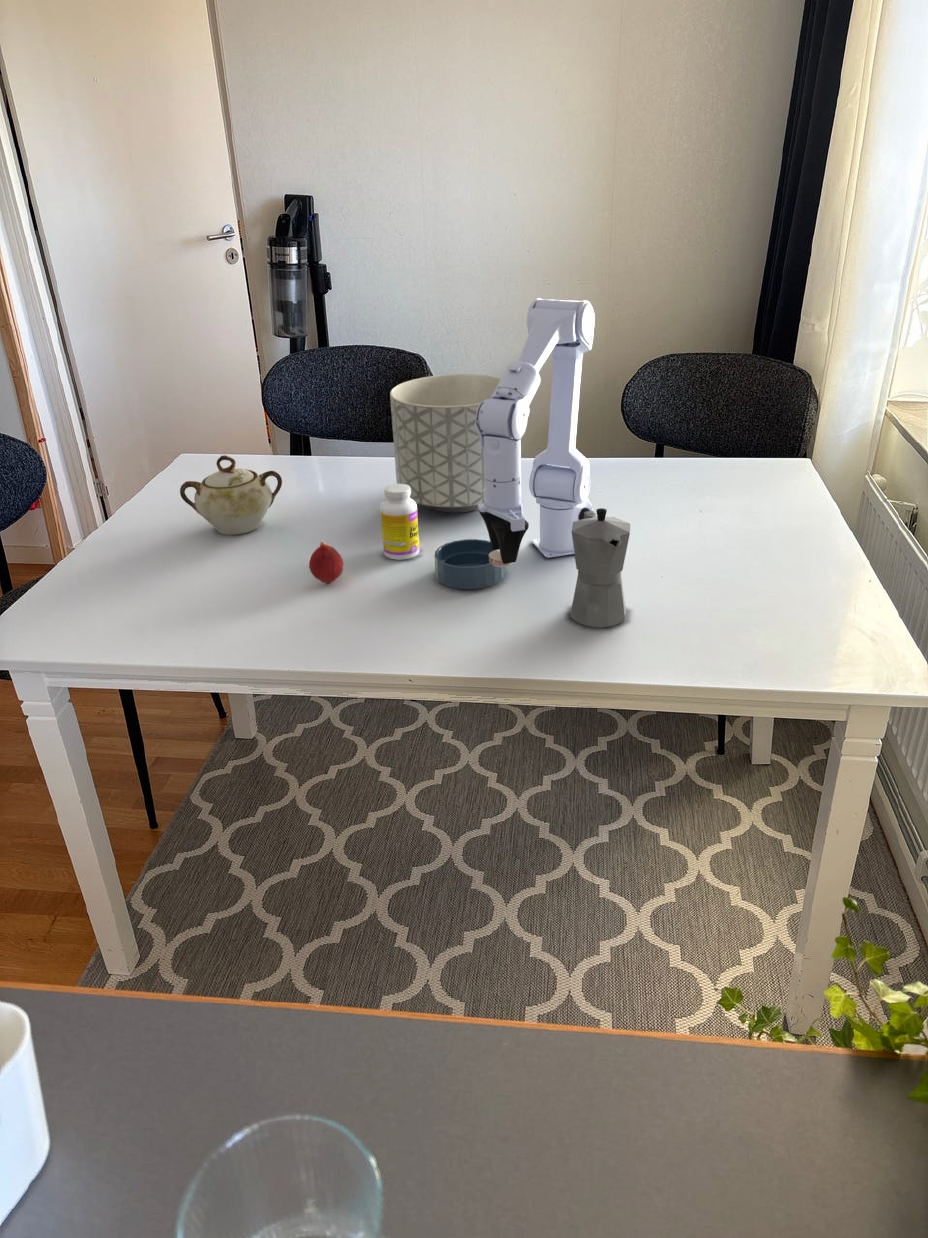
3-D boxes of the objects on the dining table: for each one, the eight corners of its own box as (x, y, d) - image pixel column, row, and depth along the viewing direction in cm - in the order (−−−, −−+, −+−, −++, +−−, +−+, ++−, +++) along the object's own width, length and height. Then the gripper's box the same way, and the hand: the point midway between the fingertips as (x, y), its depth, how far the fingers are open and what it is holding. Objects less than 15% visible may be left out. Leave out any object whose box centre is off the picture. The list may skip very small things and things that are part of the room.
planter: (543, 503, 195) (543, 387, 184) (450, 536, 181) (444, 414, 170) (465, 475, 212) (461, 367, 201) (374, 503, 198) (364, 390, 187)
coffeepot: (641, 629, 145) (648, 520, 137) (583, 638, 144) (586, 528, 135) (606, 587, 159) (610, 486, 150) (552, 595, 157) (553, 492, 149)
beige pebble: (484, 564, 154) (483, 550, 153) (507, 555, 156) (507, 541, 155) (500, 572, 151) (499, 558, 149) (524, 563, 153) (524, 549, 152)
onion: (350, 578, 166) (346, 536, 162) (336, 592, 161) (331, 549, 157) (321, 575, 168) (316, 533, 164) (305, 588, 163) (300, 546, 159)
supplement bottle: (414, 562, 171) (410, 495, 165) (379, 560, 172) (374, 493, 166) (423, 547, 177) (419, 482, 171) (389, 545, 178) (384, 480, 172)
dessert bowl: (492, 558, 171) (491, 535, 169) (514, 585, 161) (513, 561, 159) (428, 568, 169) (427, 545, 166) (446, 596, 158) (445, 571, 156)
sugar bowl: (185, 547, 181) (171, 472, 174) (189, 519, 194) (176, 448, 187) (289, 535, 185) (279, 461, 178) (285, 508, 198) (276, 439, 191)
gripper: (464, 465, 151) (467, 543, 158) (492, 495, 139) (494, 578, 145) (506, 459, 153) (507, 537, 159) (537, 488, 141) (537, 571, 147)
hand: (504, 556), depth 153 cm, fingers closed on beige pebble, 4 cm apart
